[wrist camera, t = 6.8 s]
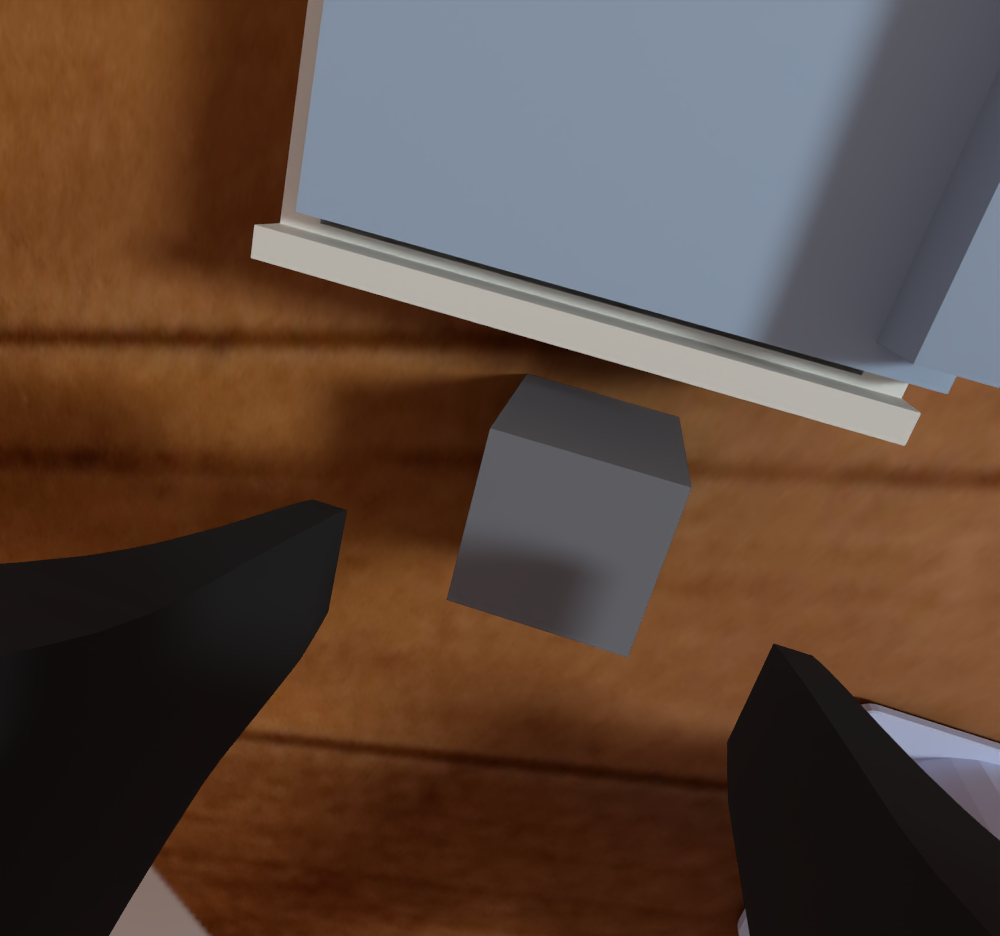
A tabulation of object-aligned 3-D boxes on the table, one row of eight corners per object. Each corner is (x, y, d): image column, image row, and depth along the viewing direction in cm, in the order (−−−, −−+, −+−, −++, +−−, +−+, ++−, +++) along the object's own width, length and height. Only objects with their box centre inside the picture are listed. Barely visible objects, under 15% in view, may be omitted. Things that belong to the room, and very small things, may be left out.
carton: (829, 376, 17) (905, 445, 12) (357, 243, 18) (250, 257, 13) (1047, -128, 14) (1277, -316, 9) (440, -260, 15) (336, -499, 10)
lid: (934, 385, 13) (996, 424, 10) (309, 211, 14) (244, 213, 11) (1210, -179, 10) (1380, -295, 7) (389, -351, 11) (321, -499, 8)
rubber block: (630, 552, 20) (627, 657, 15) (491, 509, 20) (446, 600, 16) (678, 416, 19) (691, 487, 14) (527, 373, 19) (490, 428, 14)
